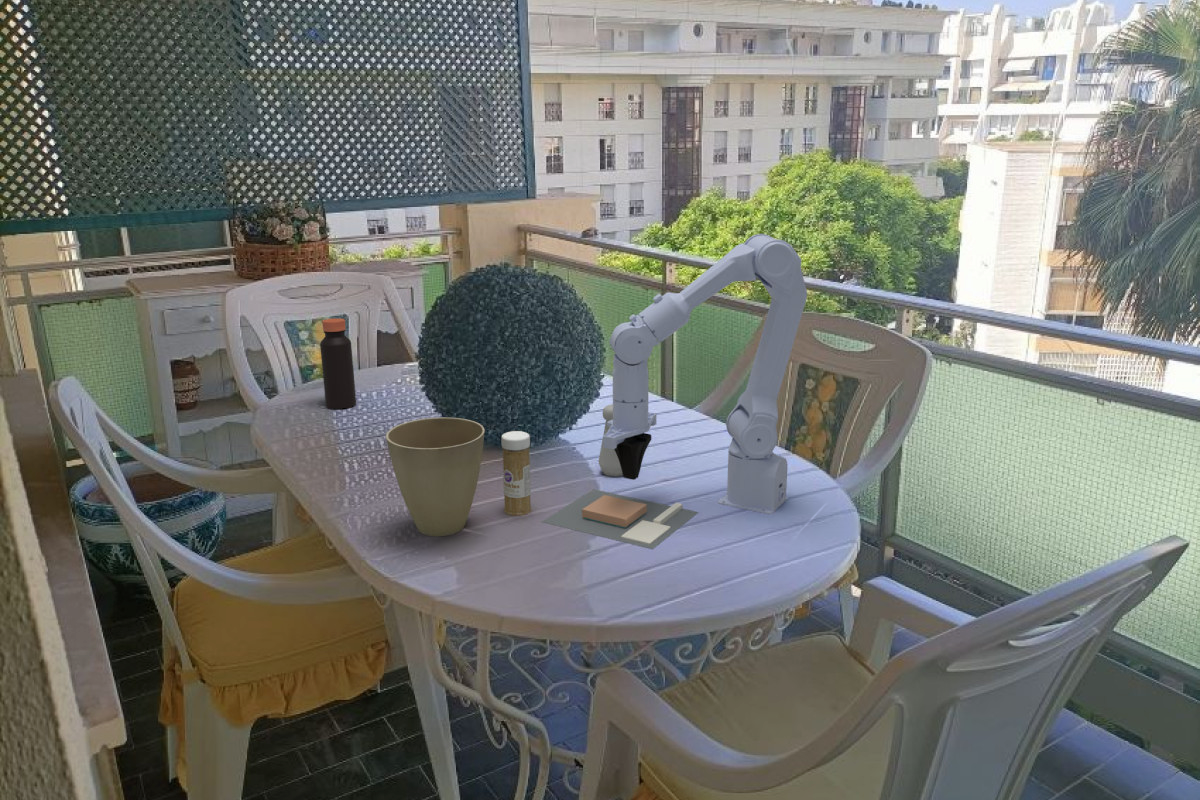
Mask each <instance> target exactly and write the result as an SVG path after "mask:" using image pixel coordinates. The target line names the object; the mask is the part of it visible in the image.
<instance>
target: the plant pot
mask: <svg viewBox="0 0 1200 800" xmlns="http://www.w3.org/2000/svg"><path fill="white" fill-rule="evenodd" d="M484 438H485V428H484V426H483V425H482V424H480V423H479V422H476V421H474V420H471V419H466V418H460V417H429V418H420V419H415V420H409V421H406V422H402V423H401V424H397V425H395V426H394V427H392V428H390V429H388V431H387V432H386V434H385V440H386V444H387V448H388V452H389V455H390V456H389V457H390V460H391V463H392V464H391V465H392V467H393V472H394V474H395V479H396V481H397V482H396V483H397V484H398V488H399V490H400V492H401V495H402V498H403V500H404V502H405V505H406V508H407V510H408V512H409V514H410V516H411V519H412V521H413V522H414V525H415V527H416V528H417V530H418V532H420V534H423V535H425V536H429V537H445V536H446V537H447V536H451V535H454V534H458V533H459V532H461V531H462V530H463V529H464V527H465V526H466V523H467V520H468V518H469V514H470V511H471V508H472V504H473V501H474V499H475V494H476V490H477V485H478V483H479V482H478V481H479V476H480V469H481V464H482V457H483V449H484V448H483V447H484Z"/></svg>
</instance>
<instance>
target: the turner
mask: <svg viewBox="0 0 1200 800" xmlns="http://www.w3.org/2000/svg"><path fill="white" fill-rule="evenodd" d="M670 506H671V507H670V508H668V509H667V510H666V511H664V512H663V513H662V514H660V515H659V516H658V517H656V518H655V519H654V520H653V522H649V521H644V520H642V521H641V522H640V523H638V524H637V525H635V526H634V527H633V528H631V529H630V530H629V531H627V532H626V533H625V534H623V535H622V536H621V538H623V539H627V540H631V541H635V542H639V543H643V544H647V545H651V544H652V543H653V542H654V541H656V540H657V539H658V538H660V537H661V536H662V535H663V534H665V533H666V532H667V531H668V530H670V529H671V527H670V526H666V525H662V524H663V523H665V522H666V521H667V520H668V519H670V518H671V517H672V516H674V515H675V514H676V513H677V512H679V511H680V510H681V509H684V508H683V503H680V502H679V503H678V502H675V503H674V504H673V505H670Z"/></svg>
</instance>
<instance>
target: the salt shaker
mask: <svg viewBox="0 0 1200 800" xmlns="http://www.w3.org/2000/svg"><path fill="white" fill-rule="evenodd" d="M602 418H603V420H605V425H604V431H603V435H602V437H603V436H604V435H605V434H606V433H607V432H608V430H609V428H610V427H608V426H607V422H608V421H610V420H613V404H608V405H606V406H605V407H604V408H603V409H602ZM598 457H599V458H598V465H599V467H600V470H601V472H602V474H604V475H605V476H607V477H613V478H614V477H616V478H617V477H618V478H619V477H622V476H623V473H622V470H621V466H620V462H619V459H618V456H617V454H616V452H615V450H614V449H609V448H604V447H603V439H602V442H601V446H600V450H599V455H598Z"/></svg>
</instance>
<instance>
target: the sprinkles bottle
mask: <svg viewBox="0 0 1200 800" xmlns="http://www.w3.org/2000/svg"><path fill="white" fill-rule="evenodd" d="M530 445H531V436H530V434H529V433H527V431H525V432H524V431H521V430H518V431H517V430H513V431H508V432H505V433H503V434H502V435H501V448H502V462H503V463H502V465H503V466H502V467H503V479H502V480H503V494H504V498H503V499H504V508H503V512H504V513H505V514H506V515H508V516H524V515H527V514H530V513H531V512H532V507H531V506H532V505H531V491H532V489H531V464H530V463H531V462H530Z"/></svg>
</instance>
